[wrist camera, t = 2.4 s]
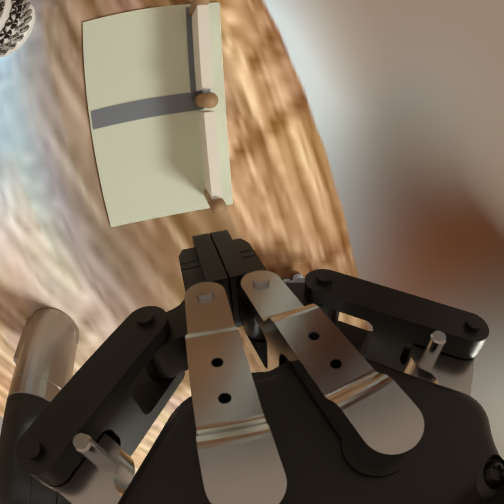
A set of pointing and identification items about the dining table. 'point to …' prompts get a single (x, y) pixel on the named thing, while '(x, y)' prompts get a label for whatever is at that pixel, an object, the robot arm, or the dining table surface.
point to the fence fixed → (202, 53)
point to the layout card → (151, 112)
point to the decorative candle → (15, 24)
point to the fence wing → (211, 161)
